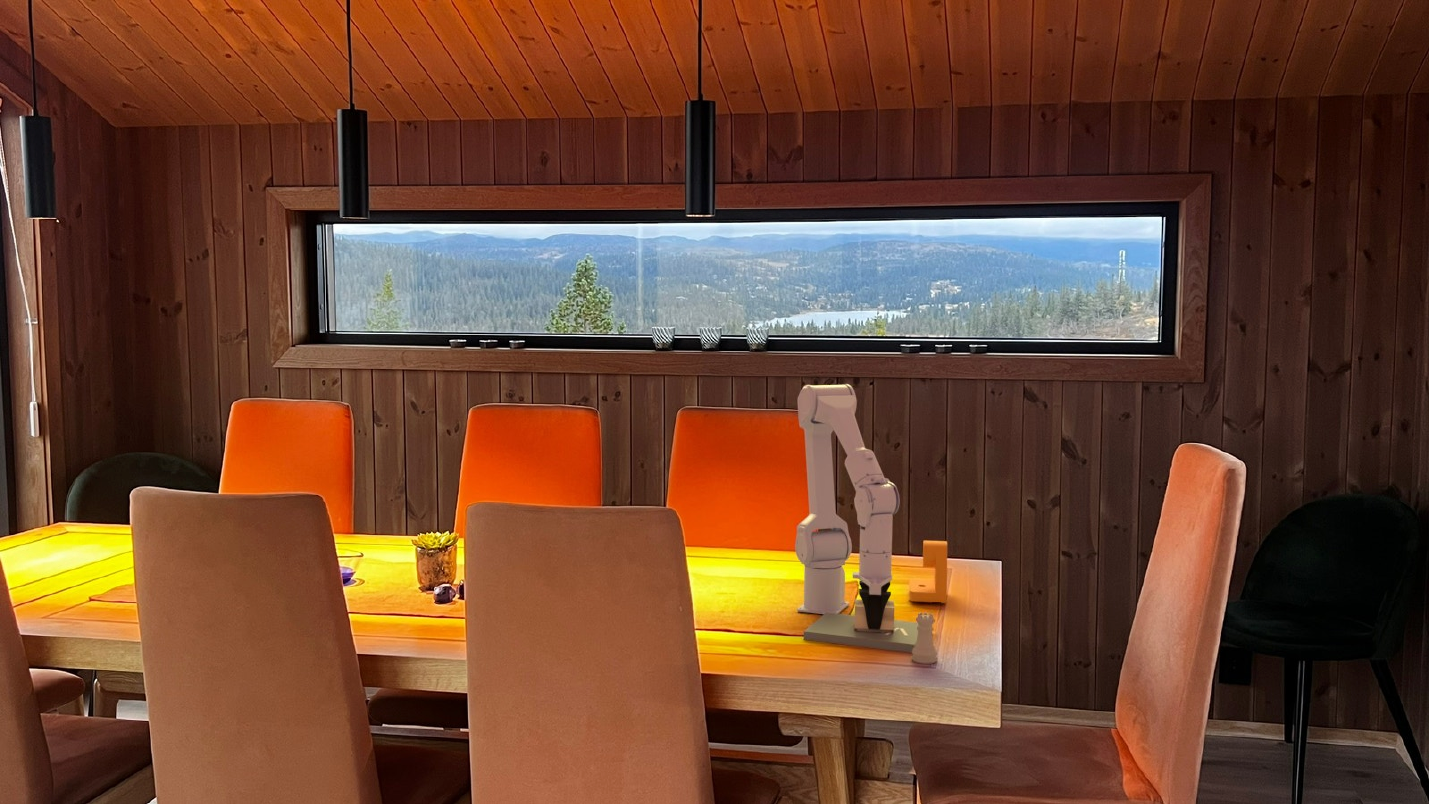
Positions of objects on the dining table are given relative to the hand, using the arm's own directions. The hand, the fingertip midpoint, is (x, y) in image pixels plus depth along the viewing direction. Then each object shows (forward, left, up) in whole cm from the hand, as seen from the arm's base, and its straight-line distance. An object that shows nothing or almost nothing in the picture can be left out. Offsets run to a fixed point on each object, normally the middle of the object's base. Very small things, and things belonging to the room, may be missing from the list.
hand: (873, 624), depth 219 cm
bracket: (-31, +3, -2) cm, 31 cm away
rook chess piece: (+10, +11, -2) cm, 16 cm away
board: (0, -1, -2) cm, 2 cm away
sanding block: (0, 0, -1) cm, 1 cm away
